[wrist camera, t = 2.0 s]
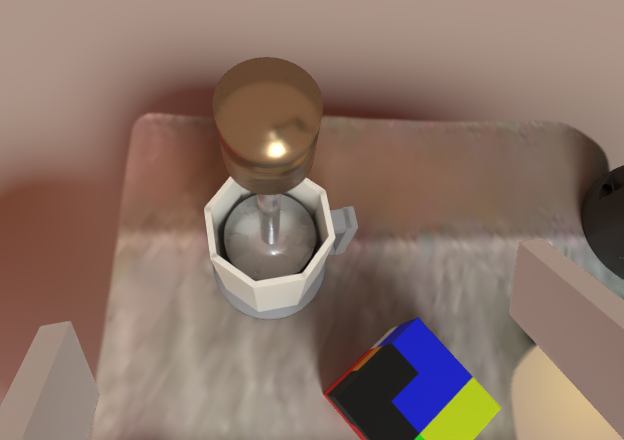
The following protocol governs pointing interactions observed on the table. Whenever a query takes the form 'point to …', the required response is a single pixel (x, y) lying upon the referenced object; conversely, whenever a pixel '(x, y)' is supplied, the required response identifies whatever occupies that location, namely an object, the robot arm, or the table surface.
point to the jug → (289, 289)
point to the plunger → (268, 162)
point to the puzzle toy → (411, 391)
